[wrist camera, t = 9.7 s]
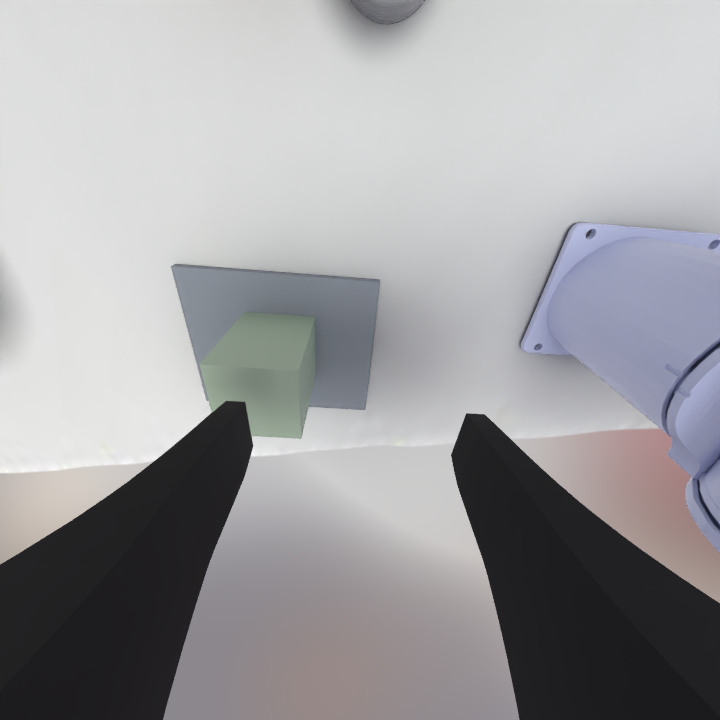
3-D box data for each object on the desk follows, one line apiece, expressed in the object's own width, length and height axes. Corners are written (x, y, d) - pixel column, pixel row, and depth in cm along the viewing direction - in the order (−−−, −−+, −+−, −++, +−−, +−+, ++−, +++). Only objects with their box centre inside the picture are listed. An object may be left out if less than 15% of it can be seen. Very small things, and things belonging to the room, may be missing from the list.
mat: (379, 279, 17) (379, 282, 17) (365, 405, 23) (365, 409, 22) (175, 264, 17) (170, 266, 17) (209, 396, 22) (206, 400, 22)
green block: (315, 316, 18) (298, 370, 13) (315, 374, 21) (301, 438, 15) (244, 311, 18) (199, 364, 13) (252, 369, 20) (217, 434, 15)
